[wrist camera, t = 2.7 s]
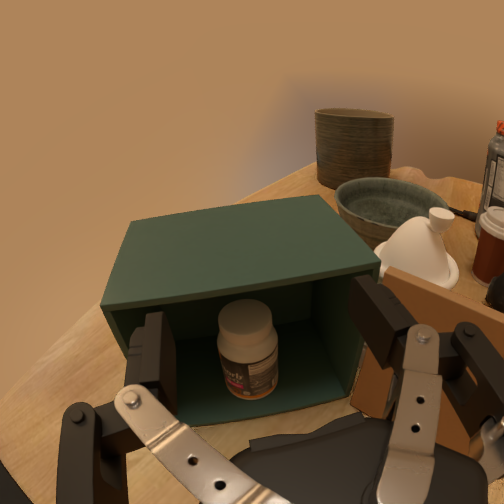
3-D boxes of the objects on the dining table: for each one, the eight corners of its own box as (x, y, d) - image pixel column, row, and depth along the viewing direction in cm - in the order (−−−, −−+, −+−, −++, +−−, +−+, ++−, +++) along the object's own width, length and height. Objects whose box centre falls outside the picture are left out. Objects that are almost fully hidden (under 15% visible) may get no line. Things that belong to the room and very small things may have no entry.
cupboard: (349, 396, 29) (382, 260, 20) (167, 429, 27) (99, 305, 18) (313, 317, 40) (318, 194, 31) (168, 341, 38) (130, 221, 29)
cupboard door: (377, 367, 32) (413, 237, 23) (509, 432, 19) (598, 317, 11) (349, 404, 28) (384, 271, 19) (493, 477, 16) (605, 372, 7)
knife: (397, 194, 77) (391, 198, 74) (398, 188, 76) (392, 192, 73) (491, 221, 60) (491, 227, 57) (493, 214, 59) (492, 220, 56)
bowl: (416, 222, 61) (423, 179, 56) (455, 278, 43) (471, 225, 38) (326, 221, 64) (327, 176, 58) (340, 282, 46) (345, 223, 41)
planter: (376, 200, 72) (380, 120, 62) (301, 183, 85) (299, 112, 74) (398, 178, 86) (402, 114, 76) (335, 165, 99) (335, 106, 88)
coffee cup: (487, 298, 38) (511, 231, 32) (455, 267, 46) (471, 205, 40) (514, 285, 39) (536, 225, 33) (484, 259, 47) (500, 201, 41)
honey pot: (454, 340, 33) (499, 214, 24) (398, 400, 28) (455, 257, 18) (386, 294, 42) (405, 176, 33) (322, 336, 37) (332, 199, 28)
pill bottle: (216, 378, 32) (199, 313, 27) (256, 353, 35) (250, 286, 30) (247, 411, 28) (236, 350, 23) (289, 382, 31) (291, 316, 26)
